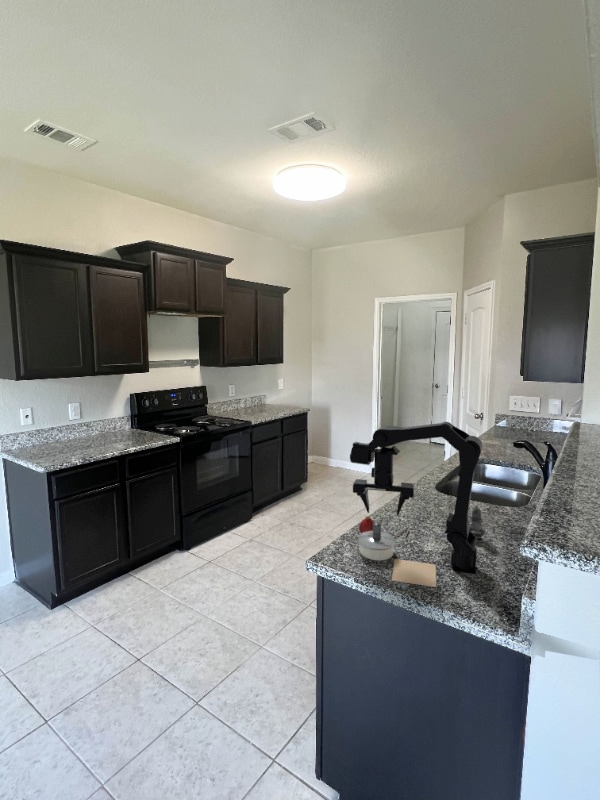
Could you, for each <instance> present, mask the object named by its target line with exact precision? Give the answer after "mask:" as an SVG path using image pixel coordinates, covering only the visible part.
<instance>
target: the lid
mask: <svg viewBox="0 0 600 800" xmlns="http://www.w3.org/2000/svg"><path fill="white" fill-rule="evenodd" d="M393 536H394V535H392V534H391V533H388V532H386V531H382V523H381V522H379V521H374V523H373V531H366V532H363V533H360V534H359V535H358V544H359V543H360V544H361V545H362V546H364V547H366V548H368V549H372V550H387V549H390V548H392V547H393V546H394V547H395V545H396V537H395V538H394V537H393Z"/></svg>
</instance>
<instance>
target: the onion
mask: <svg viewBox="0 0 600 800" xmlns="http://www.w3.org/2000/svg"><path fill="white" fill-rule="evenodd" d="M374 522H375V520H374V519H372V518H370V517H369V516H365V518H364V519H363V520H361V521H360V523H359V526H358V529H359V530H358V531H359V533H360V534H361V533H363V532H366V531H373V523H374Z"/></svg>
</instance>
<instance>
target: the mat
mask: <svg viewBox="0 0 600 800" xmlns="http://www.w3.org/2000/svg"><path fill="white" fill-rule="evenodd" d="M392 569H393V570H392V575H391V581H393V582H399V583H406V584H411V585H412V584H414V585H419V586H425V587H431V588H432V587H433V588H437V565H436V564H433V563H428V562H427V563H426V562H419V561H412V560H404V559H399V558H394V562H393V568H392Z"/></svg>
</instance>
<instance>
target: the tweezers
mask: <svg viewBox="0 0 600 800" xmlns="http://www.w3.org/2000/svg"><path fill="white" fill-rule="evenodd" d="M411 527H412V526H410V525H408V526H406V527H405V528H403V529H402V530H400V531H397V532H396V533H395V534H394V535H392V536H393V537H394V538H395V539H396V538H397V537H399V536H400V535H401V534H402V533H404V532H405V531H406V530H407V531H406V533H405V536H404V537H403V539H402V540H401V542H406V539H407V538H406V537H407V535H408V533H409V531H410V529H411Z"/></svg>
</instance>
